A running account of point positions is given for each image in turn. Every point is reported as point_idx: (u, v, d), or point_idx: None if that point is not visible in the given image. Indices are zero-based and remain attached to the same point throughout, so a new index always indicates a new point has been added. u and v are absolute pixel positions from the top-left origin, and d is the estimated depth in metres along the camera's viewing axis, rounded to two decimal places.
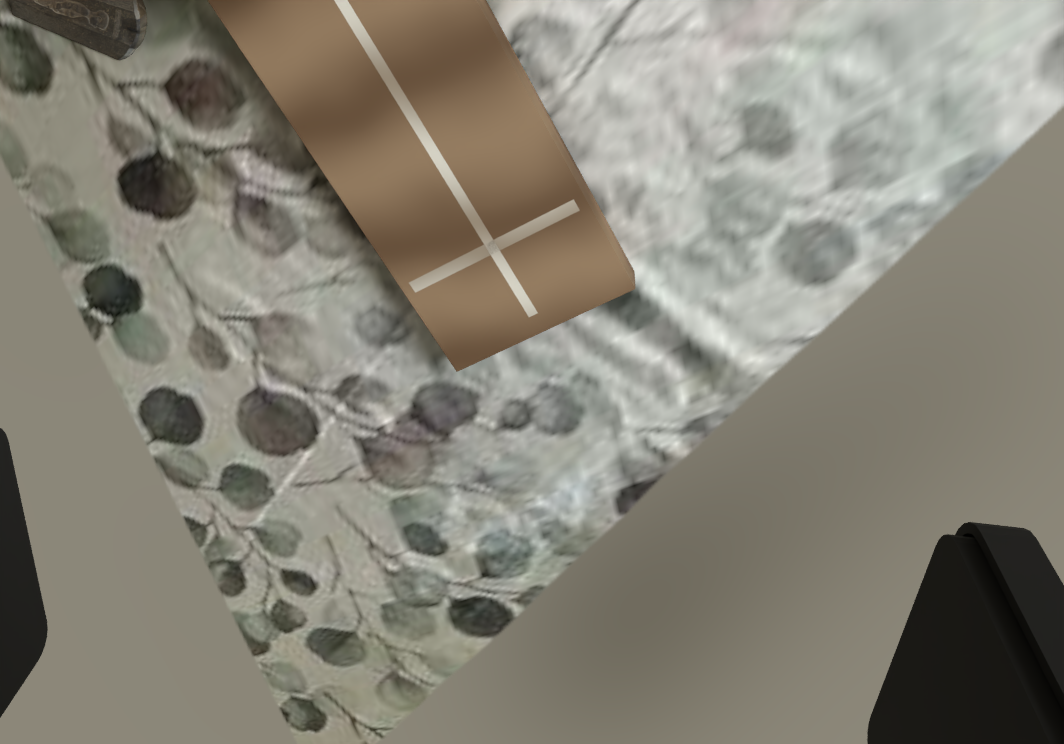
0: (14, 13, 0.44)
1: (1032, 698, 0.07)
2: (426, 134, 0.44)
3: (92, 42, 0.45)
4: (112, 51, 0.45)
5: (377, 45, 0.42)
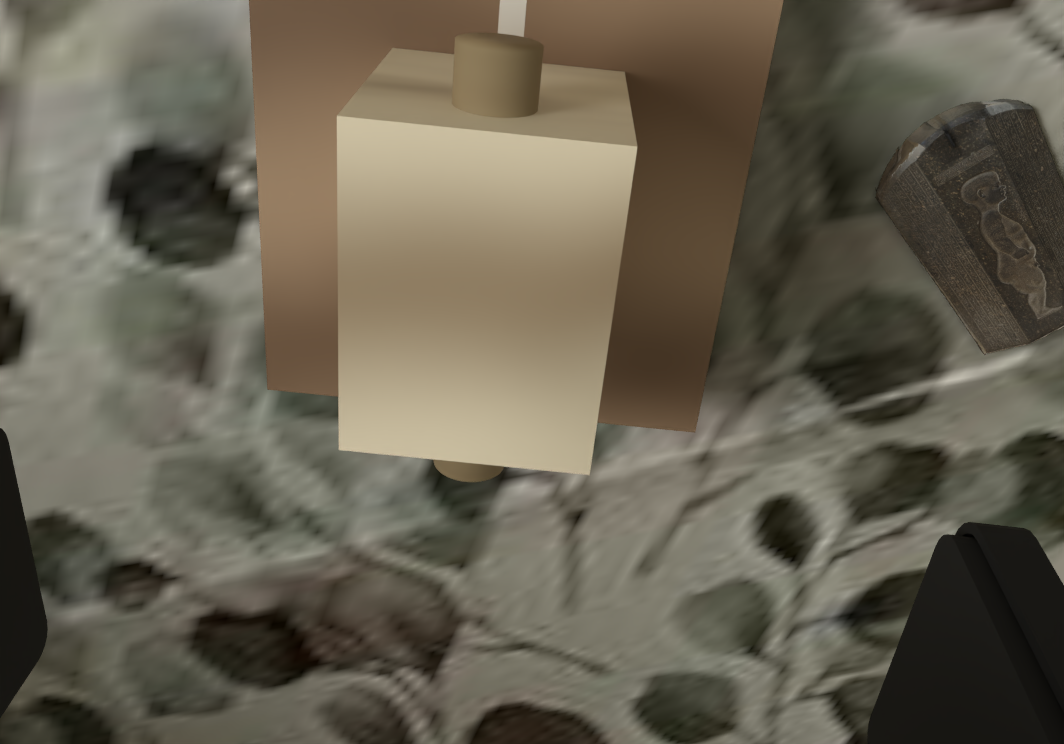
0: None
1: (1033, 698, 0.07)
2: None
3: (1038, 165, 0.21)
4: (1025, 129, 0.21)
5: None
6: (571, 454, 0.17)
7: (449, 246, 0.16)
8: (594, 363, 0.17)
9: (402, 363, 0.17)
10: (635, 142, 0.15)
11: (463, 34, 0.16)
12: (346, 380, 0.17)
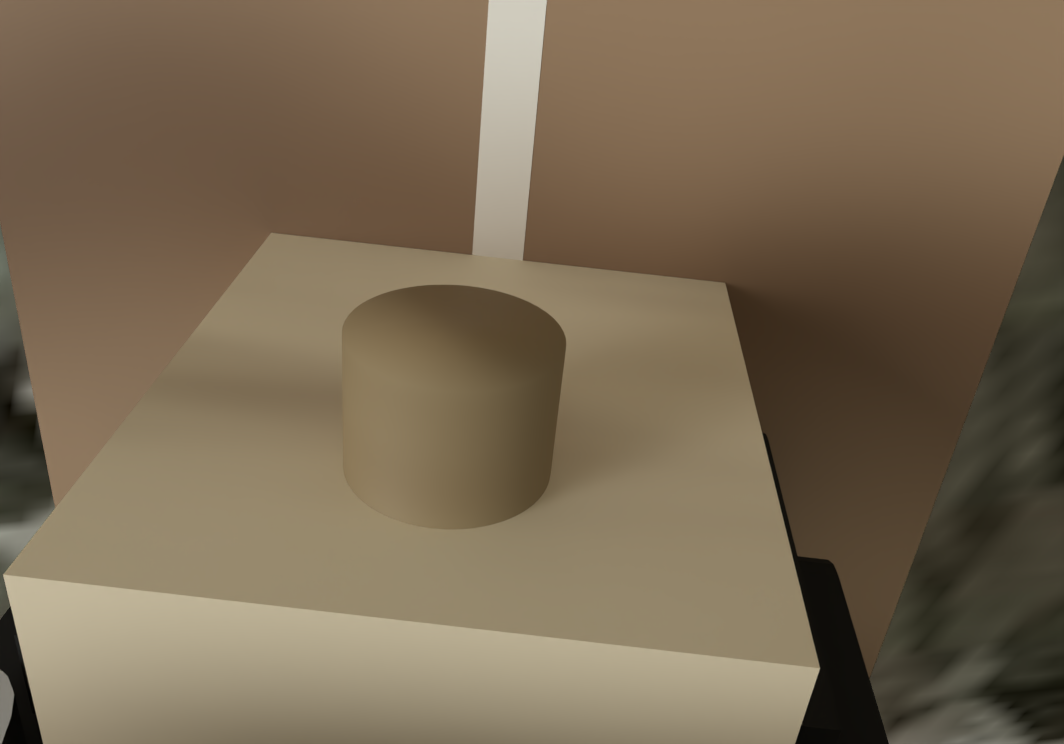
0: None
1: None
2: None
3: None
4: None
5: None
6: None
7: None
8: None
9: None
10: (809, 638, 0.06)
11: (370, 300, 0.06)
12: None
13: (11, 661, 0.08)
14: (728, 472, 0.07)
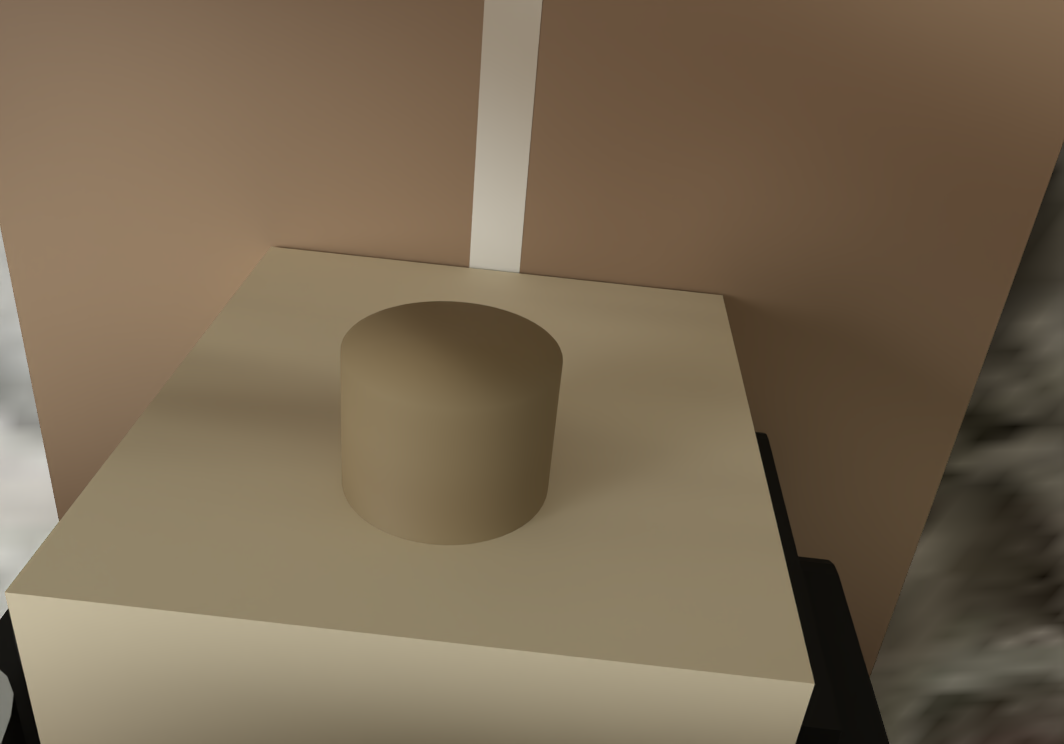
0: None
1: None
2: None
3: None
4: None
5: None
6: None
7: None
8: None
9: None
10: (804, 653, 0.06)
11: (369, 317, 0.07)
12: None
13: (10, 661, 0.08)
14: (724, 486, 0.07)
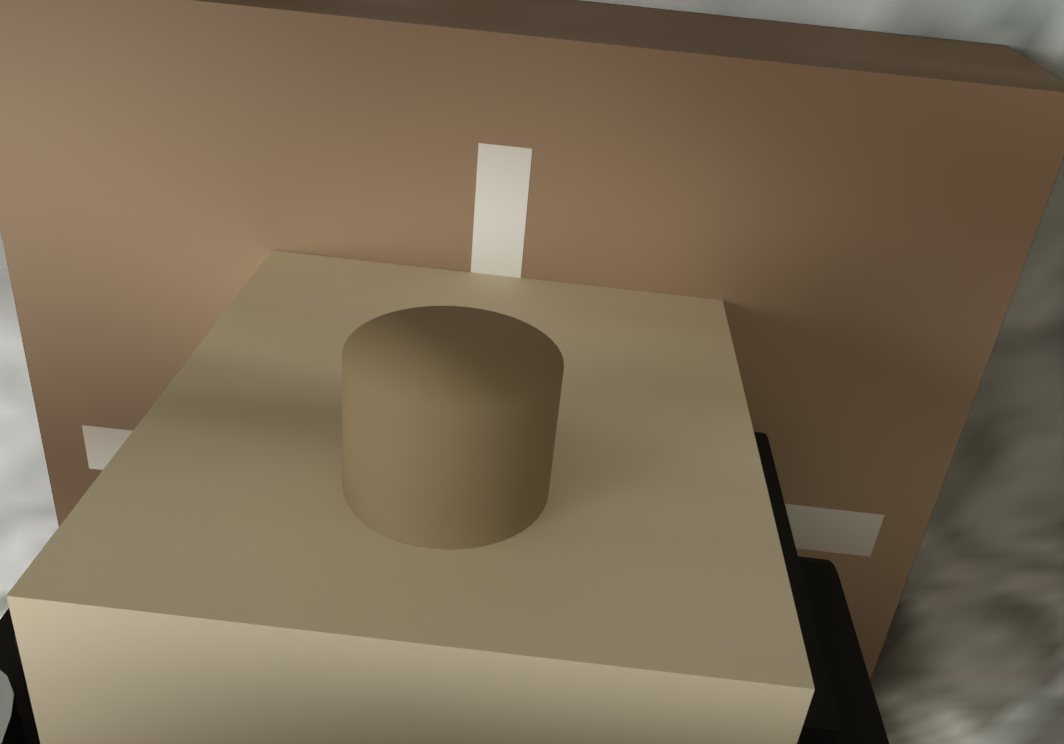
0: None
1: None
2: None
3: None
4: None
5: None
6: None
7: None
8: None
9: None
10: (804, 659, 0.06)
11: (370, 322, 0.07)
12: None
13: (11, 661, 0.08)
14: (725, 491, 0.07)
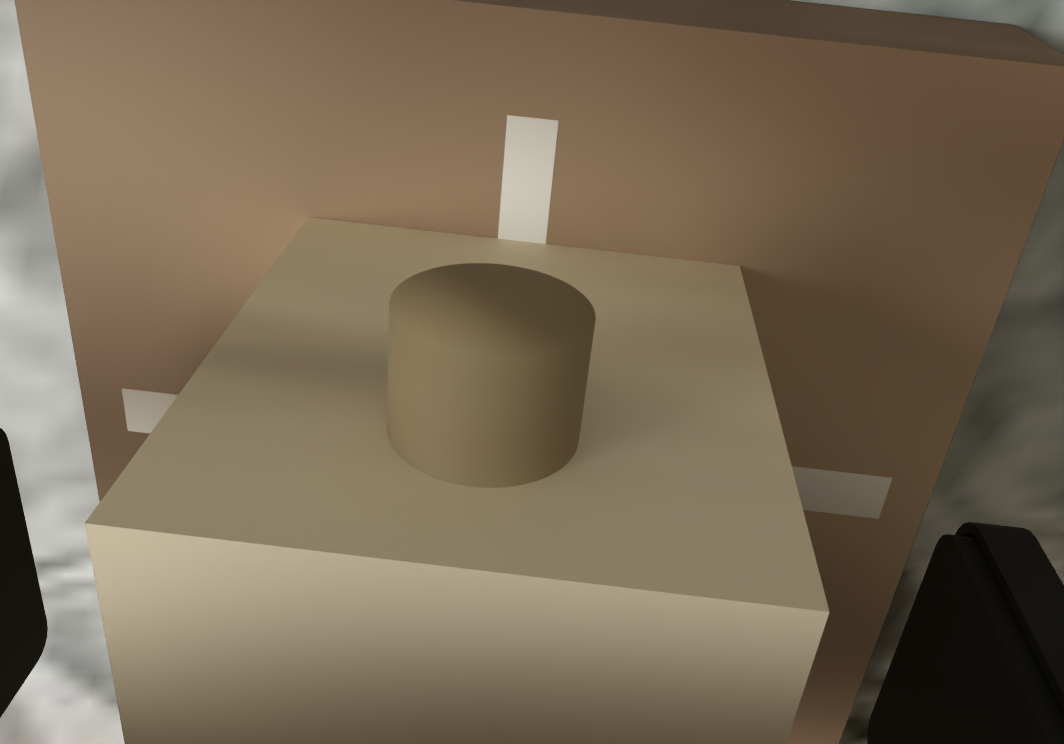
0: None
1: (1033, 698, 0.07)
2: None
3: None
4: None
5: None
6: None
7: None
8: None
9: None
10: (819, 586, 0.06)
11: (413, 277, 0.07)
12: None
13: None
14: (744, 439, 0.07)
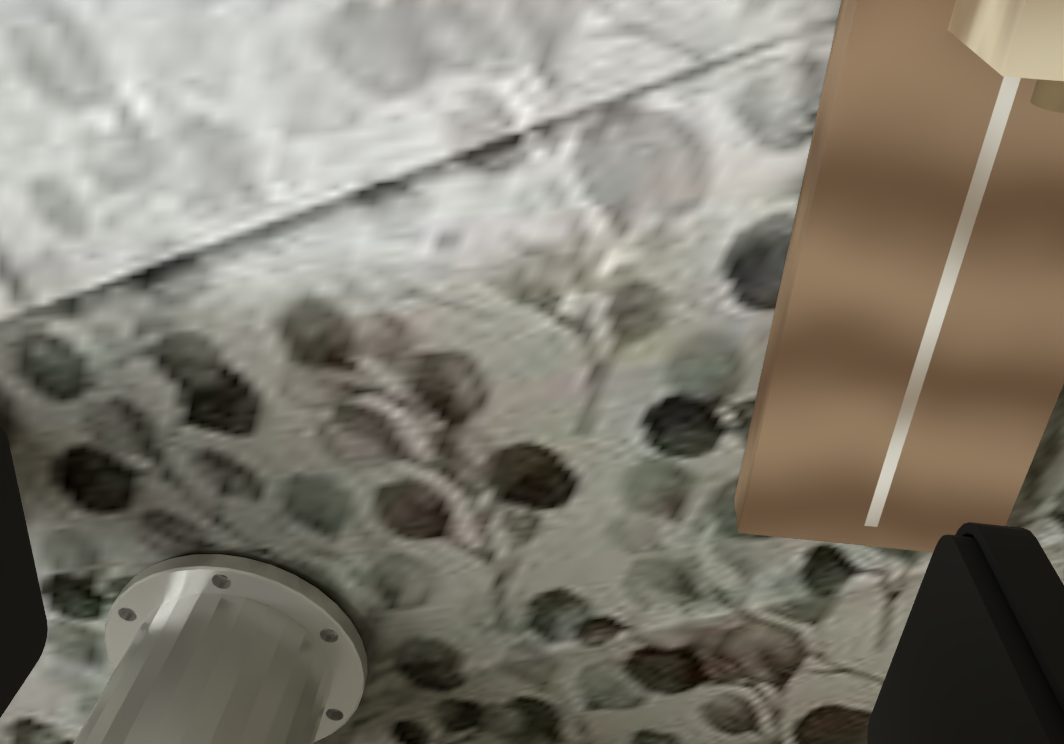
0: None
1: (1032, 698, 0.07)
2: (991, 128, 0.30)
3: None
4: None
5: (946, 253, 0.32)
6: None
7: None
8: None
9: None
10: None
11: None
12: (1027, 16, 0.24)
13: None
14: None
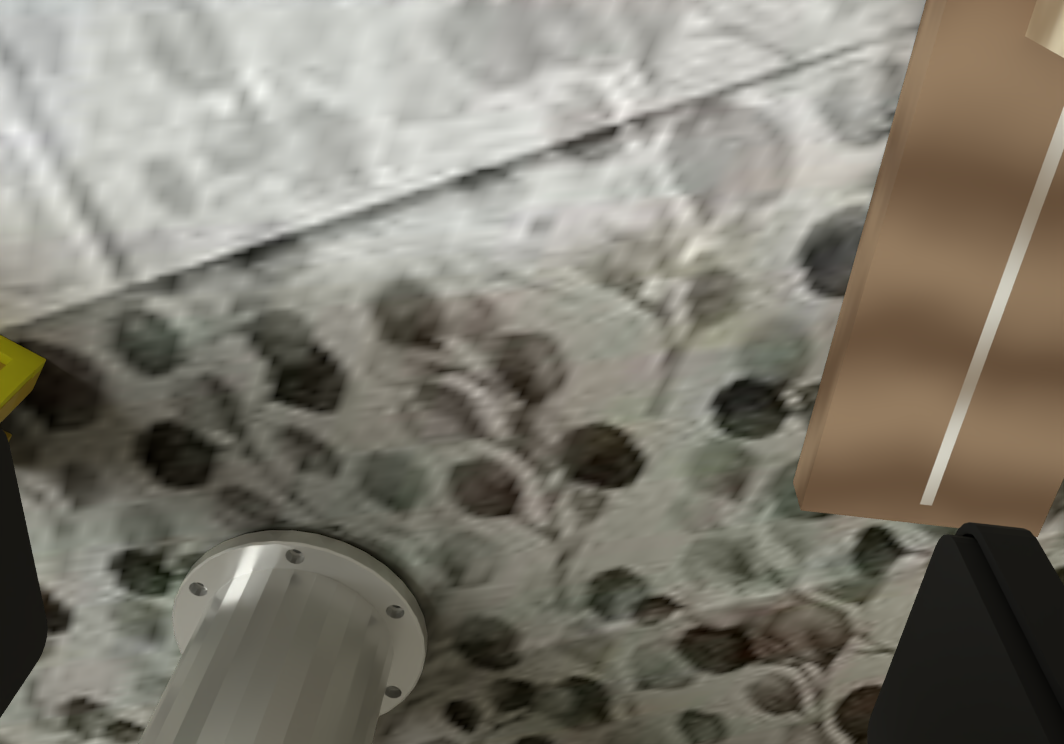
0: None
1: (1032, 698, 0.07)
2: (1059, 127, 0.33)
3: None
4: None
5: (1011, 243, 0.35)
6: None
7: None
8: None
9: None
10: None
11: None
12: None
13: None
14: None
